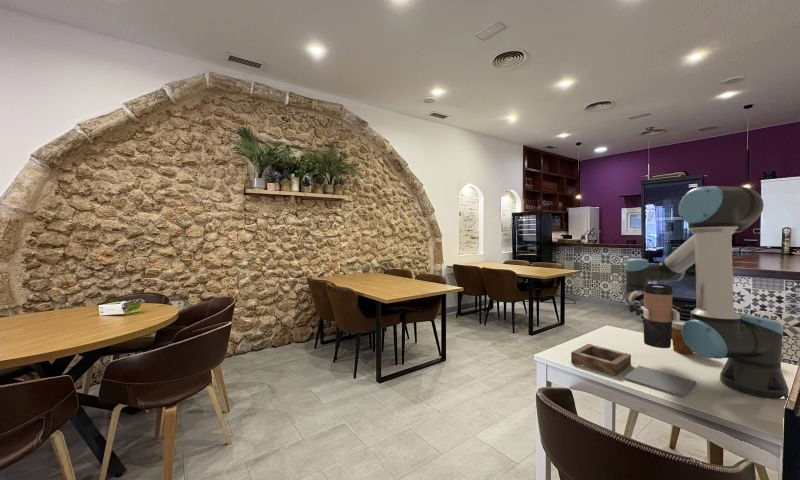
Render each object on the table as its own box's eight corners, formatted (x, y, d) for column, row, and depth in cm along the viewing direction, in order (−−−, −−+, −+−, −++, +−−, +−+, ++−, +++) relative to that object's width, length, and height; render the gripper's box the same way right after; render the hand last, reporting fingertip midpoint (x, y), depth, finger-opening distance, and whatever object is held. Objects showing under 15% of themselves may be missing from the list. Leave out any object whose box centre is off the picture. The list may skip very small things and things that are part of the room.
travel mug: (676, 349, 107) (678, 287, 107) (649, 347, 109) (650, 287, 108) (663, 341, 115) (664, 284, 114) (638, 340, 117) (639, 283, 116)
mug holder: (630, 365, 125) (631, 354, 124) (615, 376, 115) (615, 364, 115) (588, 353, 136) (588, 343, 136) (571, 362, 127) (571, 352, 127)
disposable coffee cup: (695, 350, 140) (696, 322, 140) (700, 357, 132) (701, 327, 132) (666, 346, 145) (667, 318, 145) (670, 352, 137) (671, 324, 137)
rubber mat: (696, 382, 110) (696, 381, 110) (683, 397, 100) (683, 395, 100) (639, 367, 123) (639, 365, 123) (623, 379, 113) (623, 377, 113)
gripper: (675, 313, 124) (702, 330, 103) (611, 308, 132) (625, 324, 111) (675, 293, 124) (702, 306, 103) (612, 290, 132) (625, 301, 111)
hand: (662, 315), depth 107 cm, fingers closed on travel mug, 7 cm apart
